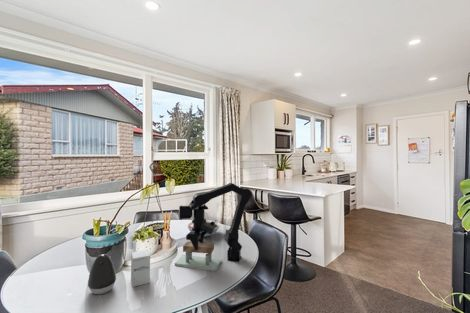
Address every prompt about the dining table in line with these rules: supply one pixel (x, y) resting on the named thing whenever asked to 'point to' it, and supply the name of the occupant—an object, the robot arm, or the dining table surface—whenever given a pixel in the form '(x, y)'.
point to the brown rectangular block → (199, 247)
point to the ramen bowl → (207, 222)
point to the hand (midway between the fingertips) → (198, 247)
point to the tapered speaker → (102, 275)
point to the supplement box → (140, 268)
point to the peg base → (198, 262)
